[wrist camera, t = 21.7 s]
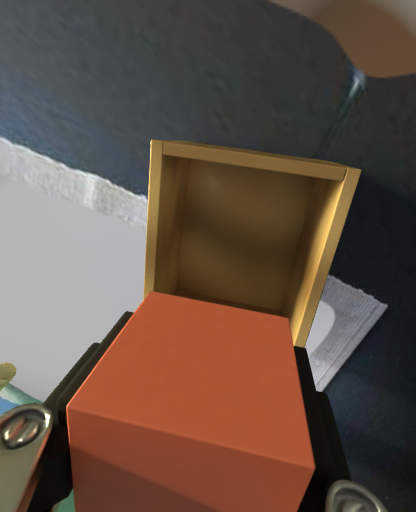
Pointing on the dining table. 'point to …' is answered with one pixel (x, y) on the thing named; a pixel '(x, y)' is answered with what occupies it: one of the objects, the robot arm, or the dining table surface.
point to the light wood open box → (244, 227)
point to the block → (192, 414)
